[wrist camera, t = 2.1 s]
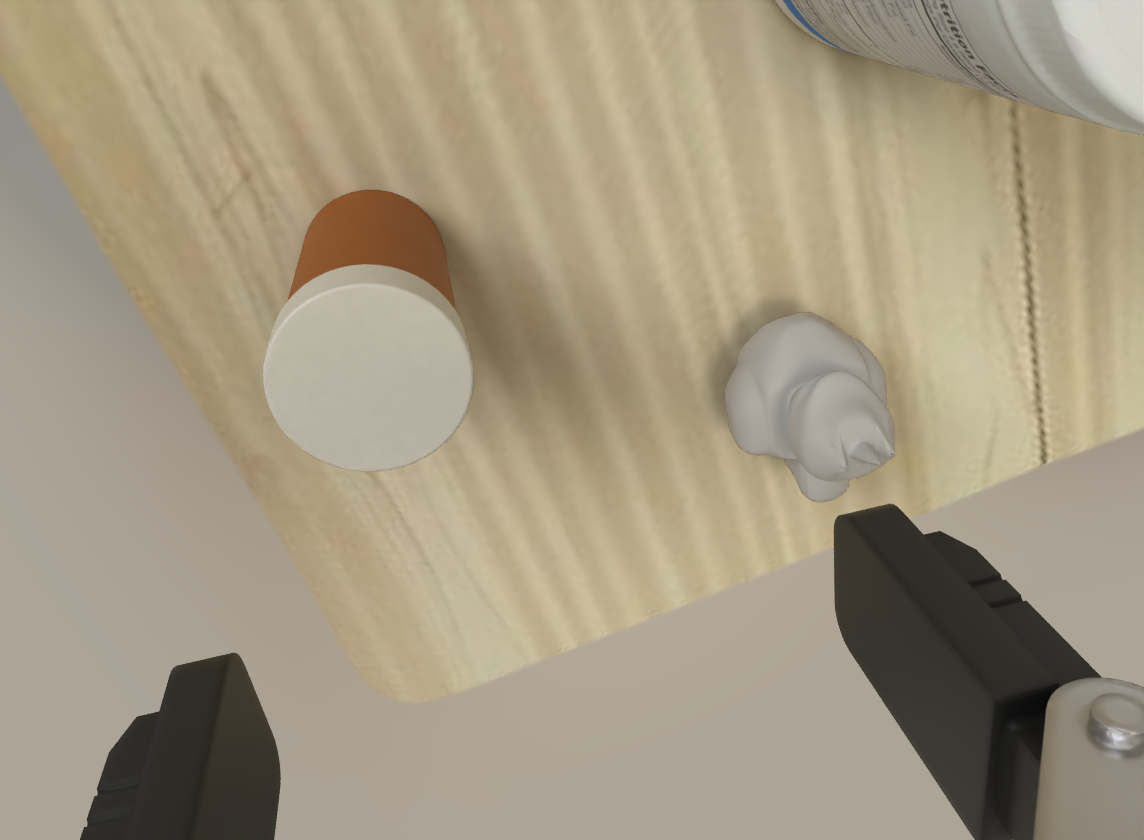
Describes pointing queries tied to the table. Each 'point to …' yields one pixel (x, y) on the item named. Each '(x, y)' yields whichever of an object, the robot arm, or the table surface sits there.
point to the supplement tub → (1002, 48)
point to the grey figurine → (811, 403)
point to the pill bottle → (369, 339)
